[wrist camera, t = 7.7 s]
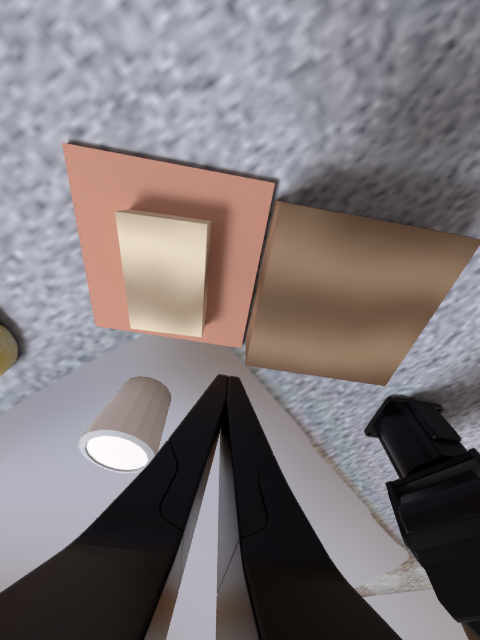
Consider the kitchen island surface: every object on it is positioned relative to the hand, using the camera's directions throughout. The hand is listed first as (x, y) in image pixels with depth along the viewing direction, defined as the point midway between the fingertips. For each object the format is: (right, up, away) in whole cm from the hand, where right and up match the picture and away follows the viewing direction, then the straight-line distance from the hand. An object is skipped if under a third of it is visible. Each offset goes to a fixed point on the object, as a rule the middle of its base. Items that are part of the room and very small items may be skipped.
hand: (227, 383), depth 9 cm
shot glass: (-10, -6, +18) cm, 21 cm away
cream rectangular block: (-5, +5, +8) cm, 11 cm away
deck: (+8, +5, +10) cm, 14 cm away
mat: (-5, +7, +10) cm, 13 cm away
